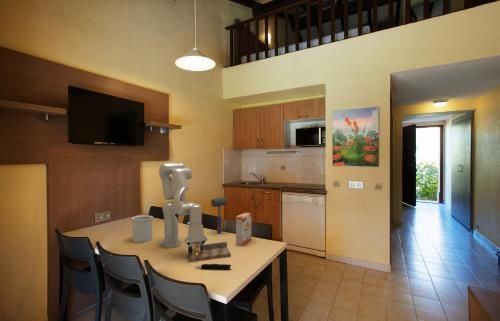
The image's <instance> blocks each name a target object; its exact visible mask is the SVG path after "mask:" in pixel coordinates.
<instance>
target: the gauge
mask: <svg viewBox="0 0 500 321" xmlns="http://www.w3.org/2000/svg"><path fill="white" fill-rule="evenodd" d="M198 254H200V242H195V243H192V255H196V256H198Z"/></svg>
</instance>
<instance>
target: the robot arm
mask: <svg viewBox="0 0 500 321" xmlns="http://www.w3.org/2000/svg"><path fill="white" fill-rule="evenodd" d="M158 174H159V178H160V180H161V184H162V185H161V186H162V187H161V188H162V195H163V198H164V200H166V202H165V203H164V204H163V206H162V212H163V223H164V226H163V227H164V228H163V230H164V232H163V233H164V238H163V239H159V240H157V243H158V244H160V245H161V244H162V248H169V249H170V248H171V249H172V248H176V247H179V246H180V245H181V241H180V240H179V219H178V217H177V216H179V217H184V216H188V215H189V222H187V225H188V229H187V237H186V238H185V239H184V241H183V243H185V244H186V245H187V246H190V251H191V253H192V243H195V242H200V252H201V250H202V245H203V244H206V242H207V241H208V238H207V237H206V235H205V232H204V225H203V224H202V221H203V218H202V217H203V216H202V213H203V212H202V205H201V204H199V203H196V202H193V201H191V202H187V197H186V192H187V191H188V190H189V189H190V187H189V186H190V185H189V183H188V180H191V179H192V178H193V171H192V169H191V168H190V167H189V166H187V165H186V164H184V163H183V162H166V163H165V162H164V163H162V164H160V165H159V167H158ZM172 200H173V201H172ZM176 215H177V216H176Z"/></svg>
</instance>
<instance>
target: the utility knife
mask: <svg viewBox="0 0 500 321" xmlns="http://www.w3.org/2000/svg"><path fill="white" fill-rule="evenodd" d="M194 266H195V267H197V268H200V269H202V270H223V271H224V270H225V271H229V270H230V268H231V264H226V263H225V264H223V263H222V264H221V263H219V264H218V263H203V264H194Z"/></svg>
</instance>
